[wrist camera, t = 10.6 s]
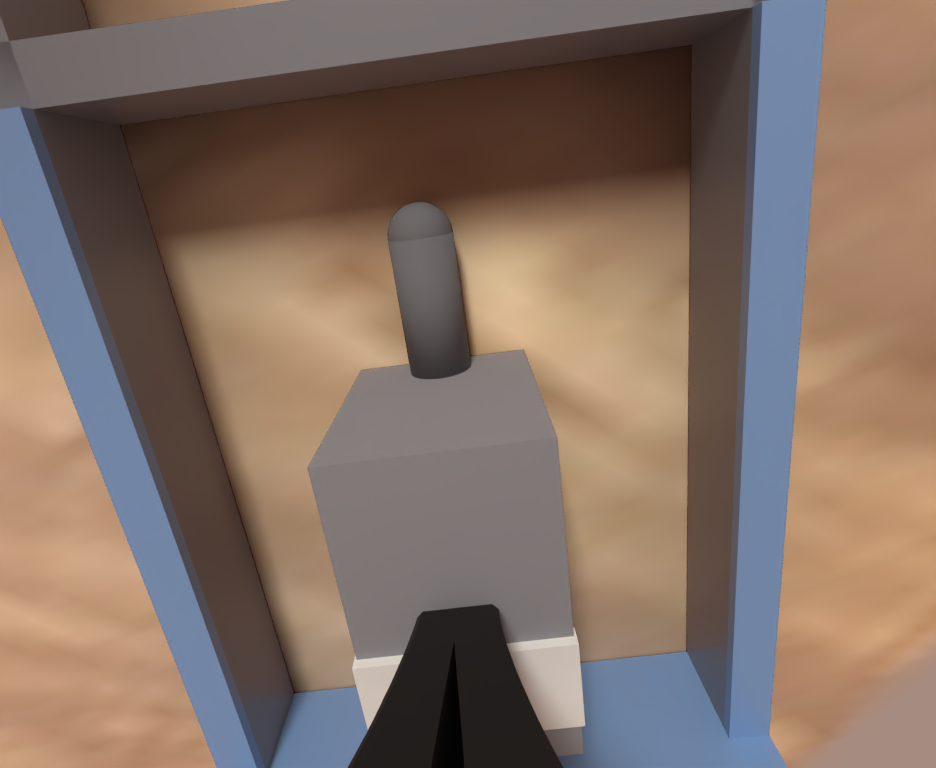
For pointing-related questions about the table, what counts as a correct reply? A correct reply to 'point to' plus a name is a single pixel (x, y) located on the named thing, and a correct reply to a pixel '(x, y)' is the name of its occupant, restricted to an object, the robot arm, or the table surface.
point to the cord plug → (449, 493)
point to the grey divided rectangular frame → (180, 397)
